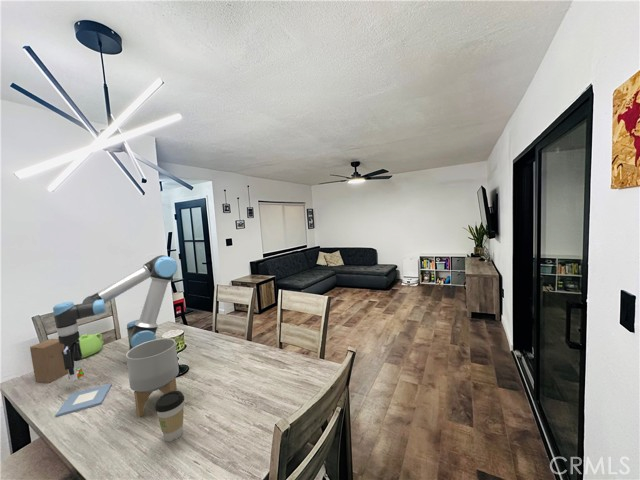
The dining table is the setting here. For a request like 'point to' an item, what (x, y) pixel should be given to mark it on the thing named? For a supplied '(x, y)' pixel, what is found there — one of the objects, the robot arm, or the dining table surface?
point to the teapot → (90, 344)
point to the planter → (152, 369)
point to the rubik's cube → (79, 372)
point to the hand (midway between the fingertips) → (76, 376)
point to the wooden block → (48, 361)
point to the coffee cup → (170, 414)
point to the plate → (84, 399)
